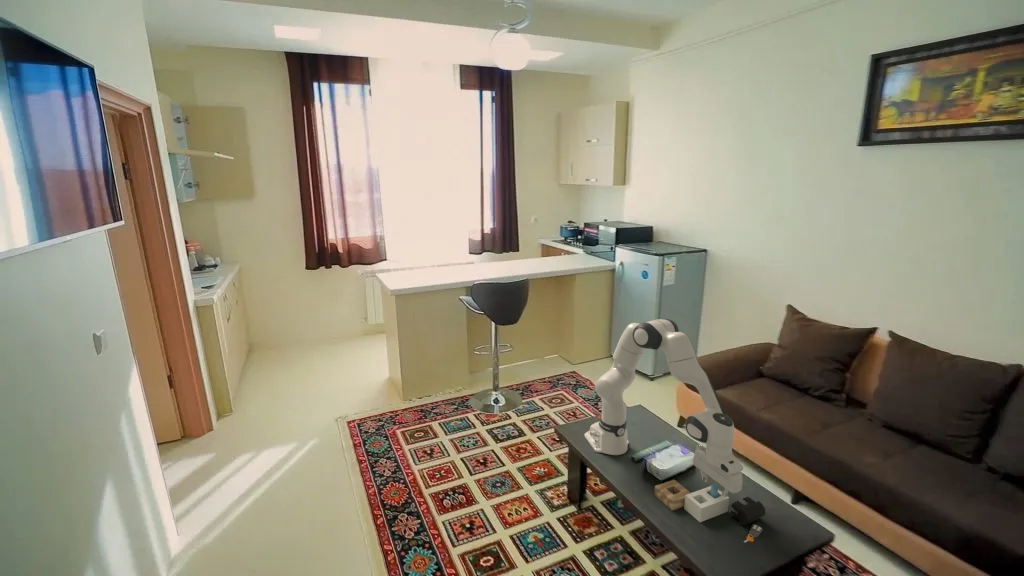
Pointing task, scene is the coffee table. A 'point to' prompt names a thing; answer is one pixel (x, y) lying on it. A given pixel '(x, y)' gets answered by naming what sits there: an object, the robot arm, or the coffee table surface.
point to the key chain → (754, 532)
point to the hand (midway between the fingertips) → (714, 488)
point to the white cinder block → (705, 504)
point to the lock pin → (714, 490)
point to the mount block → (671, 494)
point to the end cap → (747, 511)
